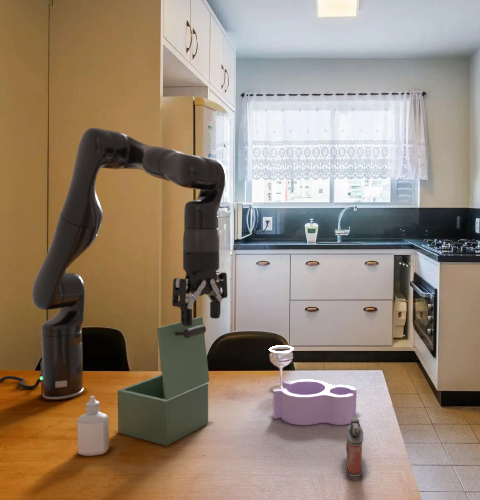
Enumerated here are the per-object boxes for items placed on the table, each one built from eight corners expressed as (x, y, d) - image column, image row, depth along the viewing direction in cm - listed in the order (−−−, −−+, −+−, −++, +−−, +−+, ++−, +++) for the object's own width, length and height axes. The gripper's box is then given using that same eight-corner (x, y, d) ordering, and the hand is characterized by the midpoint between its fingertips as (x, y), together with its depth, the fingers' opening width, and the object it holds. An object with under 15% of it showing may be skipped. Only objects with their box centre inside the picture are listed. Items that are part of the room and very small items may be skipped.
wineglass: (266, 387, 143) (267, 346, 142) (289, 384, 146) (290, 344, 145) (271, 395, 137) (271, 353, 136) (295, 392, 139) (295, 351, 138)
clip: (359, 409, 128) (359, 383, 128) (348, 429, 116) (349, 401, 116) (286, 402, 132) (286, 377, 131) (268, 421, 119) (269, 394, 119)
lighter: (345, 458, 102) (346, 412, 102) (361, 458, 103) (362, 412, 102) (346, 479, 94) (347, 429, 94) (363, 479, 95) (364, 429, 94)
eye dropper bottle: (93, 459, 100) (91, 402, 99) (74, 453, 102) (73, 397, 101) (112, 450, 104) (111, 395, 103) (93, 444, 106) (92, 390, 105)
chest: (118, 432, 112) (117, 390, 111) (162, 412, 124) (162, 373, 123) (166, 446, 106) (166, 401, 105) (208, 423, 118) (208, 383, 117)
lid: (156, 327, 105) (174, 327, 103) (199, 316, 117) (216, 316, 115) (164, 399, 105) (182, 400, 103) (206, 381, 117) (224, 381, 115)
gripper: (210, 246, 115) (210, 314, 116) (162, 249, 102) (163, 326, 103) (236, 247, 112) (236, 317, 113) (190, 251, 99) (190, 330, 100)
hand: (201, 321), depth 108 cm, fingers open, 8 cm apart
